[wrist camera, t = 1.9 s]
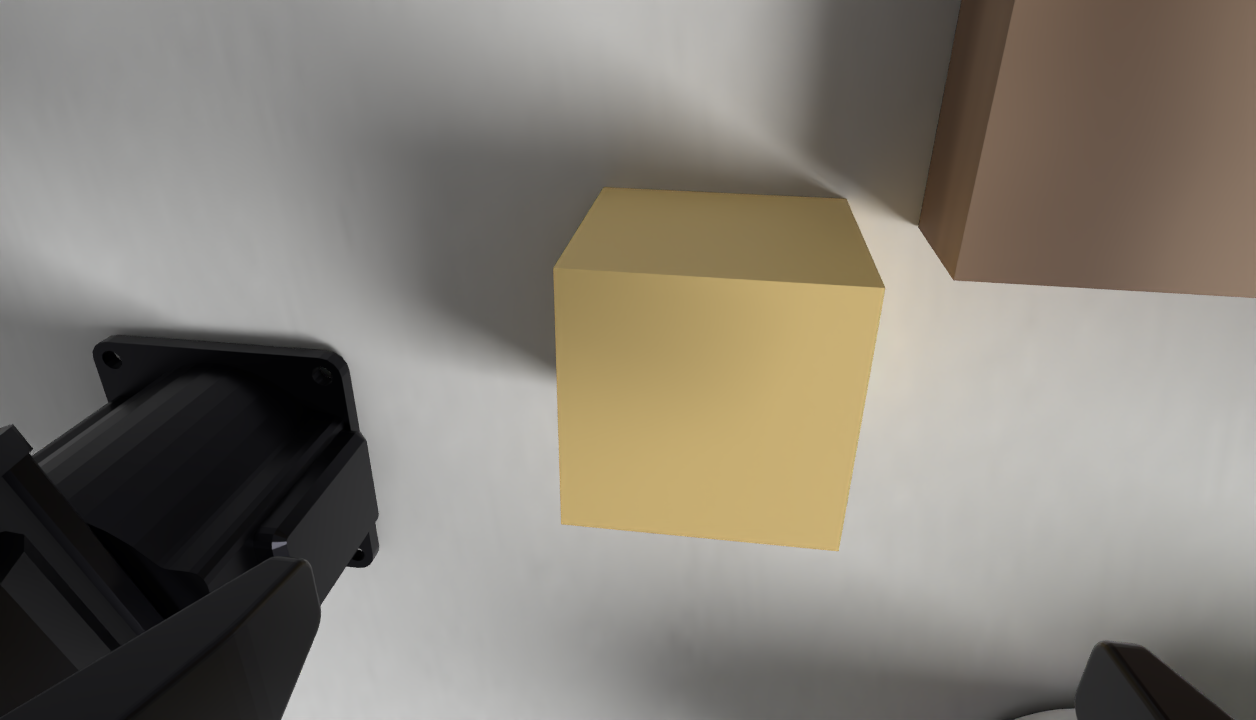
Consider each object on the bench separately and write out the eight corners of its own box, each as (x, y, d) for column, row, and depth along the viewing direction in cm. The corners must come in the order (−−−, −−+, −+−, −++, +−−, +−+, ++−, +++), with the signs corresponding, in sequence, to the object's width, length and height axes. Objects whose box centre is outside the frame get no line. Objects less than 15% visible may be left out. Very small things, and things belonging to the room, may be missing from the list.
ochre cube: (603, 391, 19) (561, 524, 14) (603, 186, 16) (553, 268, 12) (815, 408, 18) (838, 551, 14) (845, 197, 16) (885, 288, 11)
